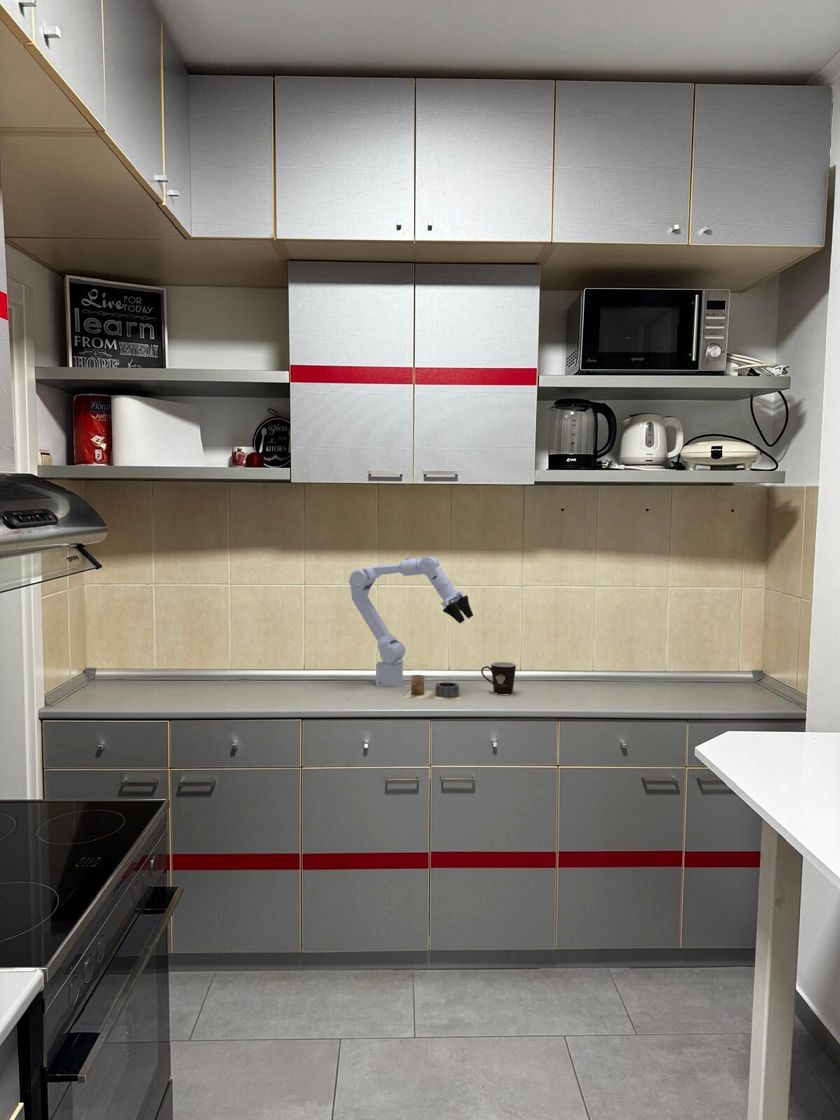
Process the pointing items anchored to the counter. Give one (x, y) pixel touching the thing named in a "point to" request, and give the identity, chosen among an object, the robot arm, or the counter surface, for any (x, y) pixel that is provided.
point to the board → (430, 695)
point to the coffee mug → (502, 677)
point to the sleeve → (447, 690)
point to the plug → (417, 685)
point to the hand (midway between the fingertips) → (466, 619)
